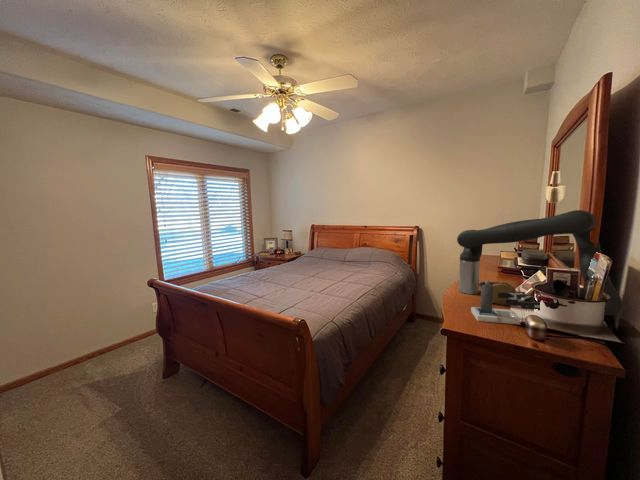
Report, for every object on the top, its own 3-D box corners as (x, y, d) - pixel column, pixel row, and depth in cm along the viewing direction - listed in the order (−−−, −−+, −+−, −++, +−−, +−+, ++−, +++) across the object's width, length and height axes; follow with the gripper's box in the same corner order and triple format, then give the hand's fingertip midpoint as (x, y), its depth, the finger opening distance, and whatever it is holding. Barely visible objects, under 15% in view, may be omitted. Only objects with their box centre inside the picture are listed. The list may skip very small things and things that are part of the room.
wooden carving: (519, 303, 122) (520, 282, 121) (523, 306, 118) (525, 285, 117) (479, 300, 127) (480, 280, 126) (482, 304, 123) (483, 283, 121)
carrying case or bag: (484, 292, 140) (516, 293, 137) (484, 286, 140) (516, 287, 136) (478, 286, 151) (507, 287, 147) (478, 281, 150) (507, 282, 147)
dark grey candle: (478, 314, 111) (480, 279, 109) (489, 315, 110) (491, 279, 108) (481, 318, 107) (483, 281, 105) (493, 319, 106) (494, 282, 104)
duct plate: (471, 311, 115) (471, 305, 114) (511, 314, 110) (511, 308, 110) (477, 320, 105) (478, 314, 105) (522, 324, 101) (522, 318, 100)
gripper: (541, 286, 108) (495, 284, 112) (561, 298, 94) (508, 295, 99) (539, 304, 109) (494, 301, 113) (559, 317, 95) (507, 314, 100)
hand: (501, 298), depth 106 cm, fingers open, 8 cm apart
